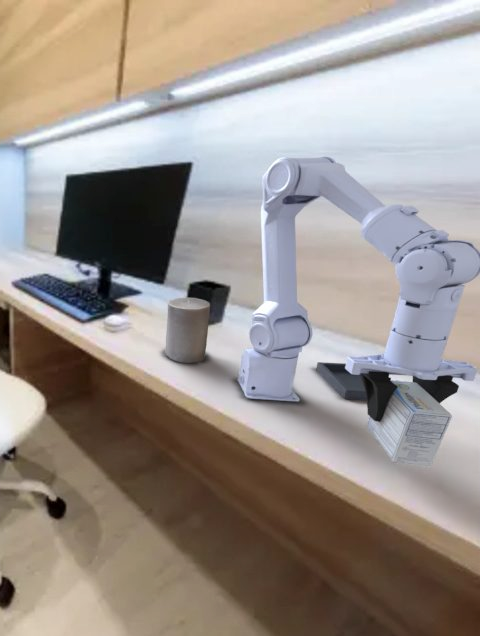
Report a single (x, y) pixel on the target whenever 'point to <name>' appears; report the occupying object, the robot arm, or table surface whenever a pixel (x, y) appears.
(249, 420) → the table surface
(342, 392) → the pad
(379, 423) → the medicine box
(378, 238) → the robot arm
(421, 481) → the table surface
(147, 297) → the table surface
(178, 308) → the pillar candle
